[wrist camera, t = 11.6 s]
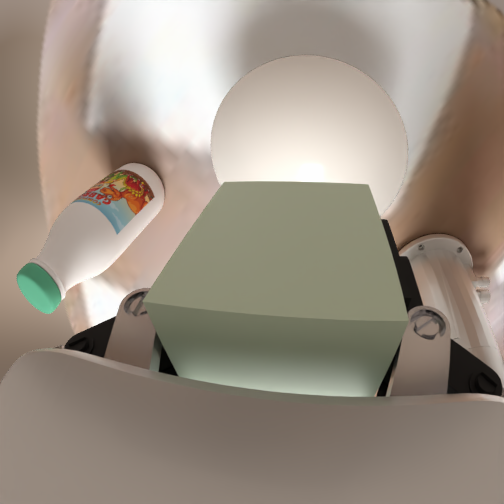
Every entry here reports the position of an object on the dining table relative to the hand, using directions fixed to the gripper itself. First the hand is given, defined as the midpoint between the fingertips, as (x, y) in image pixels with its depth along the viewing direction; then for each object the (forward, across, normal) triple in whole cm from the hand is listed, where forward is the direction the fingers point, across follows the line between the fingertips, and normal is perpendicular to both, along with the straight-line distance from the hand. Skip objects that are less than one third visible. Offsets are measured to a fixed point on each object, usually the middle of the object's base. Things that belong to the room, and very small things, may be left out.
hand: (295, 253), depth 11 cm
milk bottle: (+21, +21, +6) cm, 30 cm away
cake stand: (+21, 0, 0) cm, 21 cm away
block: (+1, 0, 0) cm, 1 cm away
